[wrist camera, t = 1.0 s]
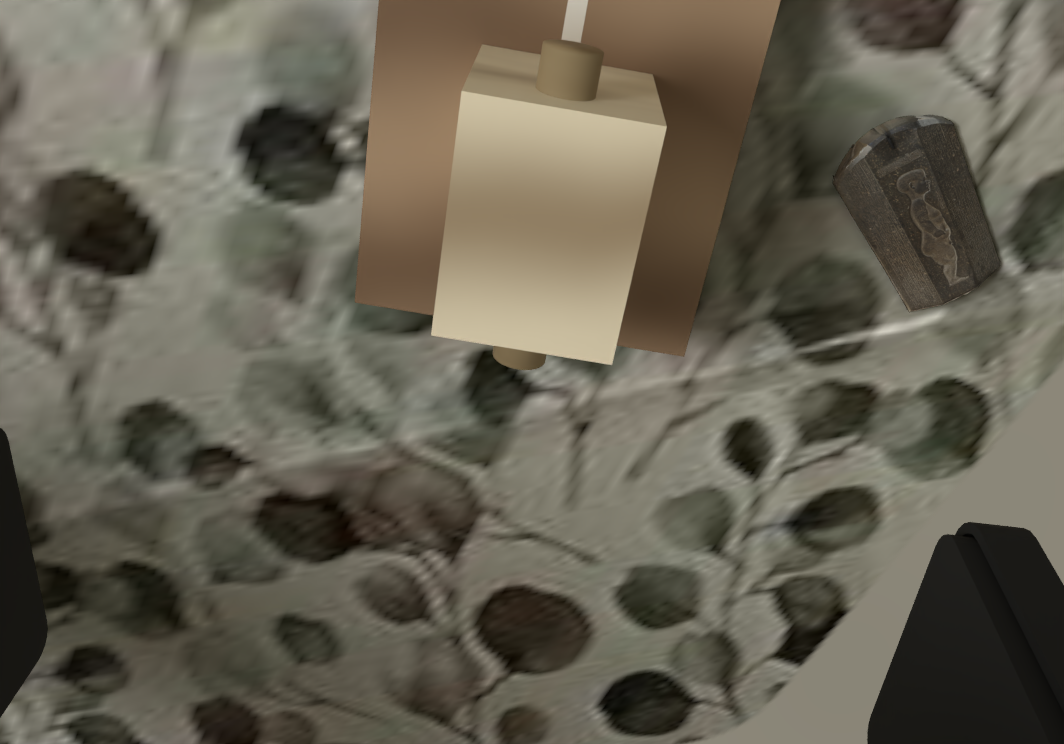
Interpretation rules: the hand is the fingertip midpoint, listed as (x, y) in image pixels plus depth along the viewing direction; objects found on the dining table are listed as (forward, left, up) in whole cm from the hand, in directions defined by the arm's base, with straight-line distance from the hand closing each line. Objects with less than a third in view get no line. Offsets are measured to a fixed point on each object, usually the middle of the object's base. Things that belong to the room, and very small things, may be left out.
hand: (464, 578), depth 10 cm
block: (-2, -12, -21) cm, 24 cm away
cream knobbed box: (-2, -1, -19) cm, 19 cm away
